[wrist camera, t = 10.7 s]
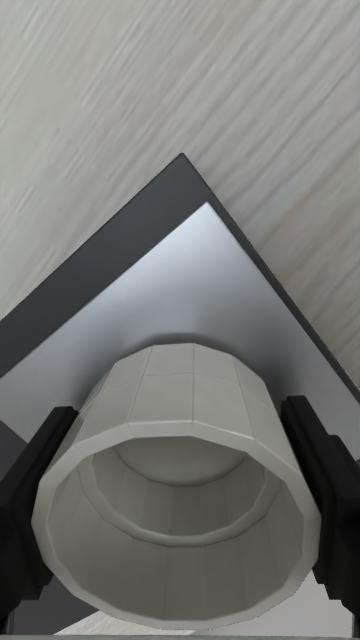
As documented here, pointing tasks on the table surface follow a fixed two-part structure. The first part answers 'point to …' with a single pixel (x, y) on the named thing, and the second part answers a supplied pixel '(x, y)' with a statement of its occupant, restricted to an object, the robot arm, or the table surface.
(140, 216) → the scale
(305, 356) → the pan
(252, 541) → the cup
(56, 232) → the table surface
